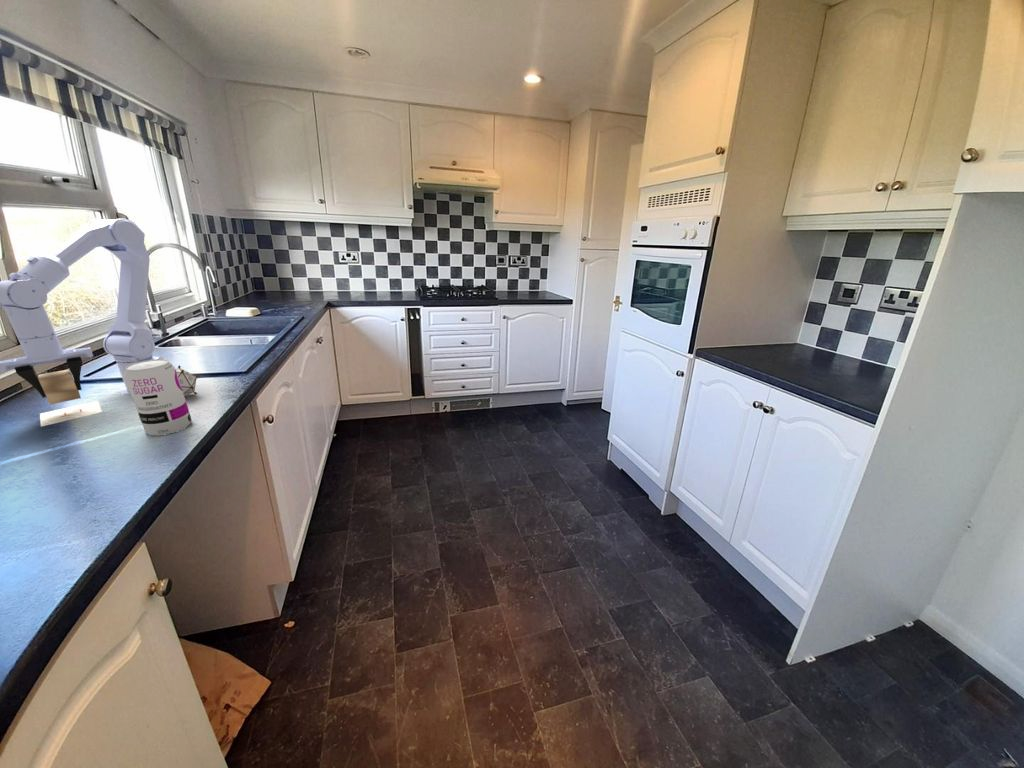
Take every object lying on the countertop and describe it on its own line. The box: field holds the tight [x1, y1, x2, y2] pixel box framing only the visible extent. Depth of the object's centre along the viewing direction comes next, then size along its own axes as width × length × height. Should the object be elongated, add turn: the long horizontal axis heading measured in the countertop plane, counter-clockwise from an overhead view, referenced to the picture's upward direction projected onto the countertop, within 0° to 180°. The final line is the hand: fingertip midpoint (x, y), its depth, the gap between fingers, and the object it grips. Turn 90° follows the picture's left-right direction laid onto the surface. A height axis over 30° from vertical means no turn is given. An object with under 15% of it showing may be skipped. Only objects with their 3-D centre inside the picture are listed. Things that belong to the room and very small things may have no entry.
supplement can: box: [124, 358, 193, 436], centre depth 88 cm, size 8×8×15 cm
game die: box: [175, 364, 201, 397], centre depth 106 cm, size 9×8×10 cm
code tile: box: [39, 400, 103, 427], centre depth 97 cm, size 10×10×1 cm
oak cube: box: [37, 368, 81, 405], centre depth 95 cm, size 5×5×6 cm
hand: (62, 392), depth 95 cm, fingers closed on oak cube, 5 cm apart
